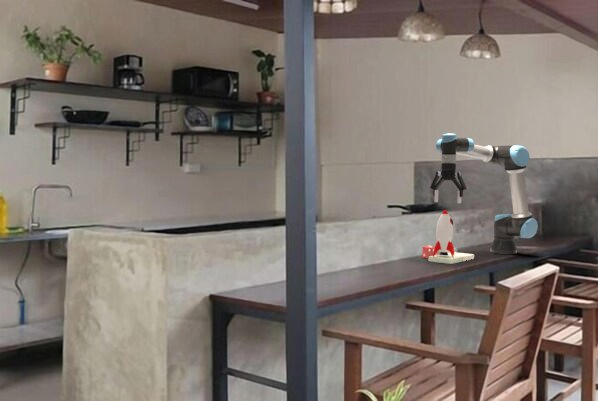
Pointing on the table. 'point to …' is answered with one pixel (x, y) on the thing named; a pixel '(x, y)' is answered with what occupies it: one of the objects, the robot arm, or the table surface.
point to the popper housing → (447, 252)
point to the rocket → (444, 235)
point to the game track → (451, 258)
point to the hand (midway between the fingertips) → (447, 202)
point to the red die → (428, 251)
